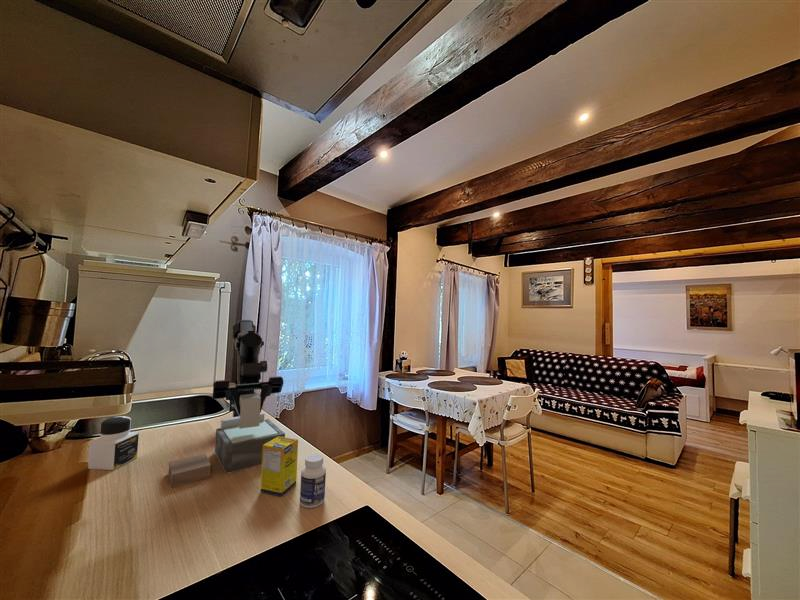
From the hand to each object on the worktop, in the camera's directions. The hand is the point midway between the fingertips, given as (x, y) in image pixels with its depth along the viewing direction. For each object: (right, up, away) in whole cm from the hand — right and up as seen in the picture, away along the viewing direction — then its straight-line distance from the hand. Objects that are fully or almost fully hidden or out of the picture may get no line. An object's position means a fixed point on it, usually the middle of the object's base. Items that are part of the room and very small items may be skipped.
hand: (249, 413), depth 88 cm
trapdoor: (-2, -7, +4) cm, 9 cm away
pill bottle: (+23, -14, -18) cm, 32 cm away
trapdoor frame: (-2, -13, +3) cm, 14 cm away
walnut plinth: (-11, -13, -9) cm, 19 cm away
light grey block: (-1, -4, +1) cm, 4 cm away
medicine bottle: (-35, -12, -4) cm, 37 cm away
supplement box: (+13, -13, -13) cm, 23 cm away
